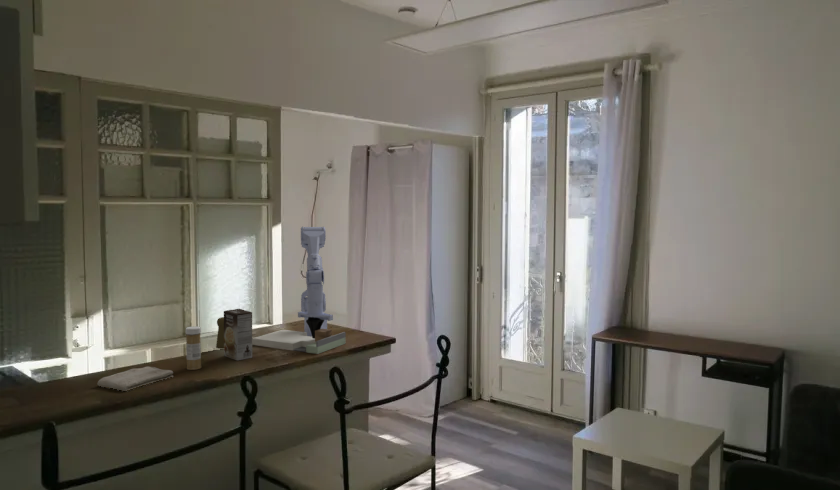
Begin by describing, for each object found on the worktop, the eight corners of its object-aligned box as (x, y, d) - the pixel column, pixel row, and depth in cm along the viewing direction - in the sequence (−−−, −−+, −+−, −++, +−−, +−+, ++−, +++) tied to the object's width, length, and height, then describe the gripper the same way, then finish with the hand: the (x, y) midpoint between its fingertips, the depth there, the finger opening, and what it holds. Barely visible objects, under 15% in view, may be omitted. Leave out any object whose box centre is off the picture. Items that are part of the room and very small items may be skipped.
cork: (235, 345, 225) (235, 316, 224) (229, 348, 219) (228, 319, 218) (220, 344, 226) (219, 315, 225) (213, 348, 220) (212, 318, 219)
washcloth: (176, 378, 184) (176, 368, 184) (125, 394, 168) (125, 383, 167) (148, 373, 189) (148, 363, 189) (96, 388, 173) (96, 378, 172)
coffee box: (223, 356, 209) (222, 310, 208) (239, 352, 213) (239, 308, 212) (236, 360, 202) (236, 314, 201) (253, 357, 207) (253, 311, 206)
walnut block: (321, 339, 225) (321, 328, 225) (331, 340, 223) (331, 329, 223) (314, 341, 221) (314, 330, 221) (324, 342, 219) (324, 331, 219)
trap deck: (282, 335, 242) (282, 324, 242) (345, 343, 229) (345, 332, 228) (252, 344, 226) (252, 333, 225) (317, 353, 213) (317, 341, 212)
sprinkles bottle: (200, 366, 196) (199, 325, 195) (202, 369, 192) (201, 328, 191) (185, 367, 194) (184, 326, 193) (186, 371, 190) (186, 329, 189)
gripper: (292, 301, 222) (292, 337, 223) (325, 304, 216) (325, 342, 217) (304, 299, 229) (304, 334, 230) (336, 302, 222) (336, 338, 223)
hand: (315, 337), depth 224 cm, fingers closed
